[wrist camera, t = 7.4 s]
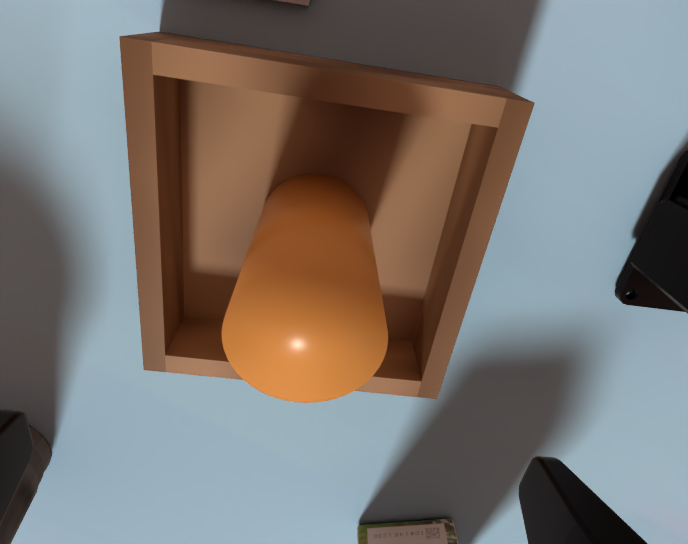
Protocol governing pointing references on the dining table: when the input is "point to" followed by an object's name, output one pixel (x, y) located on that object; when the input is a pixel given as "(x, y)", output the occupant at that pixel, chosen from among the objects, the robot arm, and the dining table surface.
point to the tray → (301, 158)
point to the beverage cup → (26, 488)
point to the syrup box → (409, 532)
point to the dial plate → (297, 2)
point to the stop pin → (308, 295)
